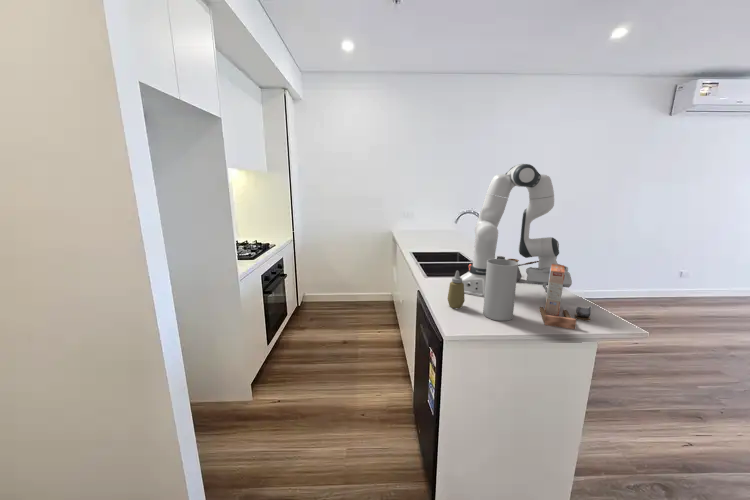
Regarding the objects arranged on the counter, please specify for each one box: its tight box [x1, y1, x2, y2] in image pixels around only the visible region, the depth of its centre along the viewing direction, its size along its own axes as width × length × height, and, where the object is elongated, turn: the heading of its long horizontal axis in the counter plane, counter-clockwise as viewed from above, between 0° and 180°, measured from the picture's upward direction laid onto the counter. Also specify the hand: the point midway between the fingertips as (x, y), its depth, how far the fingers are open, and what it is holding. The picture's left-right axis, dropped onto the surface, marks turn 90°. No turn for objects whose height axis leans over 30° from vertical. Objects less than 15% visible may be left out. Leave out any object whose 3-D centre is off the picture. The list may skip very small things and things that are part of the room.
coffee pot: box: [506, 258, 539, 282], centre depth 184 cm, size 21×12×15 cm, turn 42°
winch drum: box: [573, 305, 592, 322], centre depth 133 cm, size 6×4×6 cm
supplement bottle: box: [496, 255, 506, 259], centre depth 199 cm, size 7×7×12 cm
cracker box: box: [544, 264, 566, 317], centre depth 141 cm, size 14×6×21 cm, turn 149°
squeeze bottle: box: [447, 270, 466, 309], centre depth 146 cm, size 8×8×18 cm
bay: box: [539, 306, 577, 330], centre depth 133 cm, size 11×16×4 cm
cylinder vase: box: [482, 258, 519, 322], centre depth 135 cm, size 12×12×25 cm
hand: (548, 292), depth 153 cm, fingers closed
